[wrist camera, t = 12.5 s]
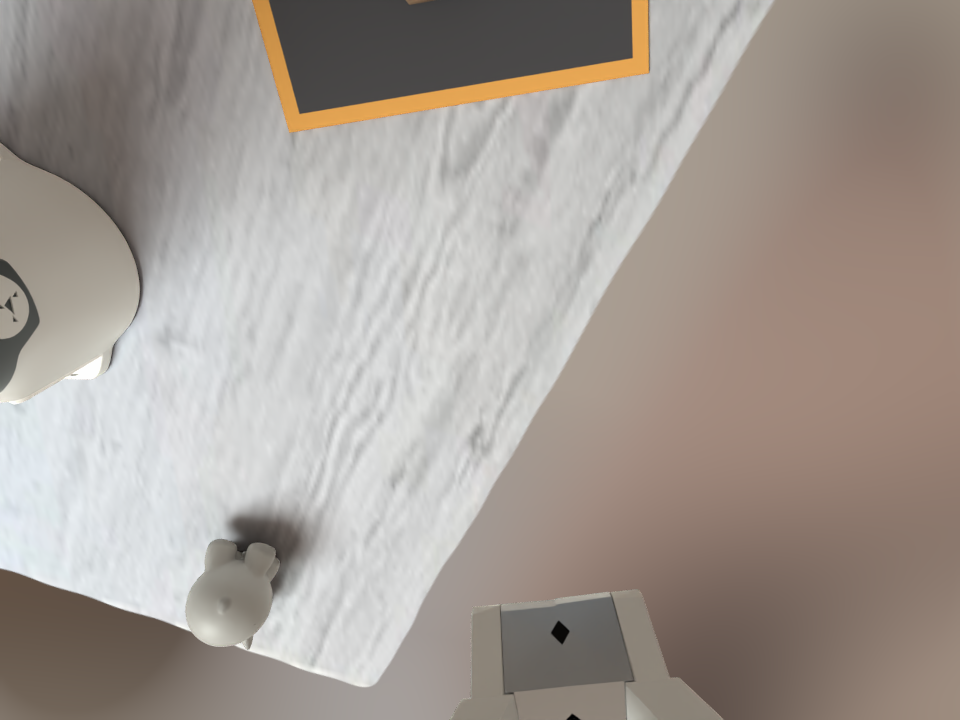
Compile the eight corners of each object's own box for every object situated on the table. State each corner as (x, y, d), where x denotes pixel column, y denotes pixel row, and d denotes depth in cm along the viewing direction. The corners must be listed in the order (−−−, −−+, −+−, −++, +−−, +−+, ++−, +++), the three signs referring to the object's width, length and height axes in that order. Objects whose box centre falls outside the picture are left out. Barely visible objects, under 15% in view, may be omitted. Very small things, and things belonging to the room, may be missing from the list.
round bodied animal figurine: (226, 574, 59) (192, 661, 53) (204, 528, 50) (160, 627, 44) (294, 584, 59) (267, 671, 54) (283, 540, 50) (250, 639, 45)
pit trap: (290, 132, 37) (289, 132, 37) (244, -28, 33) (244, -28, 33) (648, 73, 35) (648, 73, 35) (646, -102, 31) (647, -103, 31)
